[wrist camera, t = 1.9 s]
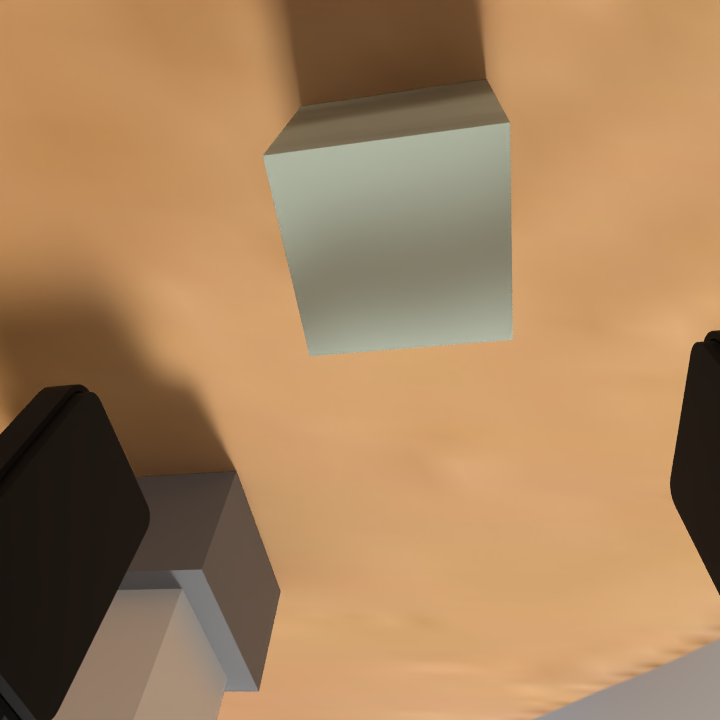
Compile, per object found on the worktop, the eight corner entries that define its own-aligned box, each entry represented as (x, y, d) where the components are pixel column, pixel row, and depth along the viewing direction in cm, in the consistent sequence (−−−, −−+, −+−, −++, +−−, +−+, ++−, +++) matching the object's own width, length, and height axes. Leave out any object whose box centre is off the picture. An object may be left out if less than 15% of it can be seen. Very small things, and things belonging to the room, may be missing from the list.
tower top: (30, 592, 22) (-58, 737, 18) (182, 588, 21) (125, 740, 17) (93, 678, 26) (30, 818, 21) (227, 678, 25) (189, 824, 21)
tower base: (61, 477, 26) (-6, 576, 22) (238, 466, 25) (201, 569, 21) (128, 590, 30) (83, 691, 26) (281, 587, 29) (258, 691, 25)
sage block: (301, 105, 17) (262, 155, 12) (486, 78, 16) (510, 122, 12) (333, 270, 19) (309, 356, 15) (491, 253, 19) (512, 339, 14)
